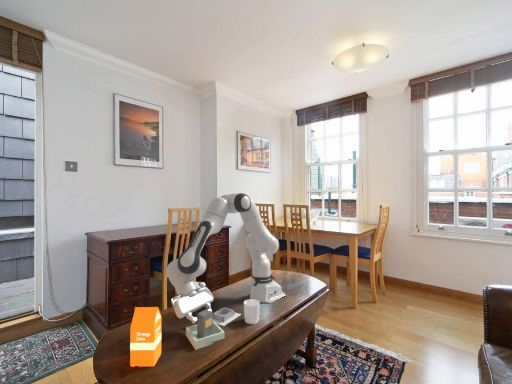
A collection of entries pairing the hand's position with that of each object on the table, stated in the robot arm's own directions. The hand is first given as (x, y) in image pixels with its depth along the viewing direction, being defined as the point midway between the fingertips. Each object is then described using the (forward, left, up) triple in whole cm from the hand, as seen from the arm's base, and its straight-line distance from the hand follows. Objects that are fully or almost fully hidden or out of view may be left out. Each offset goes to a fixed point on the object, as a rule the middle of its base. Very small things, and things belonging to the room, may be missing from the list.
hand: (203, 318), depth 114 cm
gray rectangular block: (-1, +1, -7) cm, 7 cm away
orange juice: (+24, +3, -9) cm, 26 cm away
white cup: (-25, 0, -9) cm, 26 cm away
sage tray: (0, +1, -8) cm, 8 cm away
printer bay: (-15, -11, -8) cm, 20 cm away
